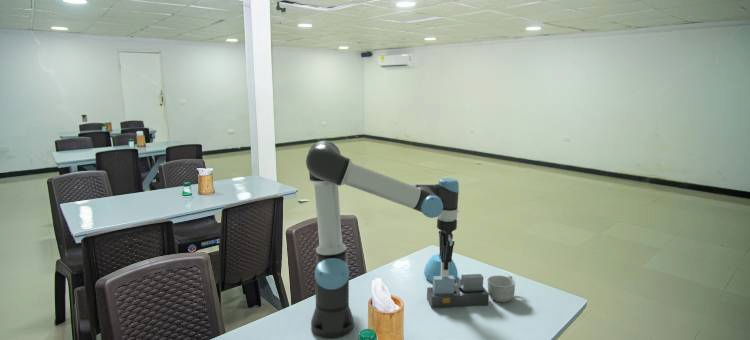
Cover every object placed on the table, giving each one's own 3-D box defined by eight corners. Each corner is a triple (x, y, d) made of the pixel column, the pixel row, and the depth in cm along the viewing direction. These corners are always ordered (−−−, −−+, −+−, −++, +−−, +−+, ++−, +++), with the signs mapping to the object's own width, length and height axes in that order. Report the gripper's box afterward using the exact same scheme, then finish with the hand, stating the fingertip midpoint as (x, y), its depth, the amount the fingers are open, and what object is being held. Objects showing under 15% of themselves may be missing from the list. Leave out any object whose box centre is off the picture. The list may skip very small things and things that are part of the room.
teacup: (501, 307, 160) (503, 288, 159) (480, 296, 169) (481, 278, 168) (524, 298, 168) (526, 280, 167) (503, 287, 177) (504, 270, 175)
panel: (433, 303, 161) (434, 279, 159) (432, 299, 164) (432, 276, 162) (453, 302, 162) (454, 278, 160) (451, 298, 165) (452, 275, 163)
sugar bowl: (422, 270, 193) (423, 247, 191) (454, 271, 193) (455, 248, 191) (425, 285, 179) (426, 260, 176) (459, 286, 178) (461, 261, 176)
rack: (431, 309, 159) (432, 282, 157) (426, 298, 167) (427, 273, 164) (488, 306, 162) (490, 280, 160) (481, 296, 169) (482, 271, 167)
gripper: (462, 223, 151) (459, 283, 156) (451, 213, 164) (448, 268, 168) (442, 224, 150) (439, 284, 155) (433, 213, 163) (431, 269, 167)
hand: (444, 276), depth 161 cm, fingers closed
